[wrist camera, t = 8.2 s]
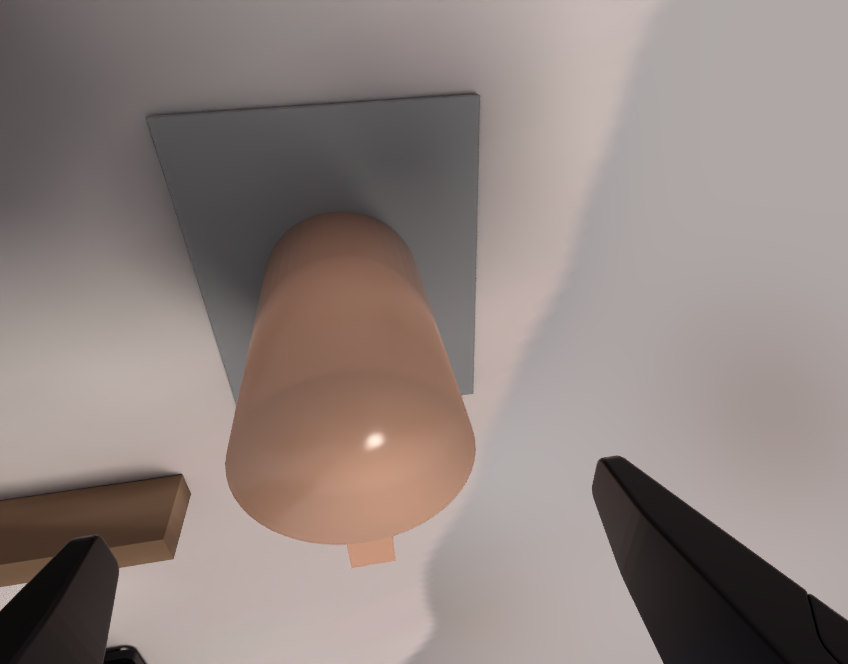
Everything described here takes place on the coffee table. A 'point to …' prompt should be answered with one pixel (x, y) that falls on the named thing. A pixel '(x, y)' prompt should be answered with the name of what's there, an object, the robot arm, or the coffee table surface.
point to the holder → (93, 524)
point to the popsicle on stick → (346, 394)
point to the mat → (326, 199)
